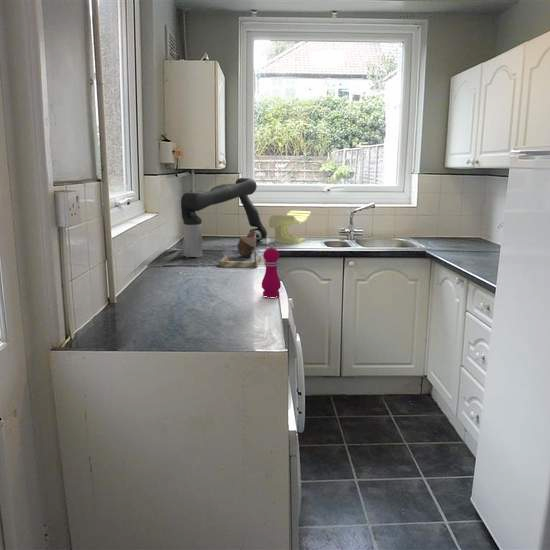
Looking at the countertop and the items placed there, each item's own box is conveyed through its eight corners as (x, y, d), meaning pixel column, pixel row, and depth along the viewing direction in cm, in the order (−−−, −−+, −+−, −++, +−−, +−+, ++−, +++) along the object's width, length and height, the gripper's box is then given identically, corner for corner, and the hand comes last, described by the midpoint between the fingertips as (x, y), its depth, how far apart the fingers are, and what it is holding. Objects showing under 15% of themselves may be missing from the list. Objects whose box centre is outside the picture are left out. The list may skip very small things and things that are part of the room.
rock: (259, 249, 265) (243, 239, 262) (247, 264, 268) (232, 255, 265) (257, 240, 276) (242, 230, 273) (246, 255, 280) (231, 245, 276)
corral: (219, 266, 247) (218, 232, 243) (226, 260, 263) (225, 227, 259) (256, 267, 245) (256, 233, 242) (261, 260, 261) (261, 228, 258)
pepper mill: (269, 292, 200) (270, 242, 196) (284, 296, 196) (285, 244, 191) (257, 296, 195) (257, 244, 190) (272, 299, 190) (272, 246, 186)
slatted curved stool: (287, 237, 338) (287, 210, 334) (310, 239, 332) (311, 211, 328) (269, 244, 311) (269, 214, 307) (293, 246, 305) (293, 216, 301)
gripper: (242, 231, 297) (237, 235, 280) (265, 231, 295) (261, 236, 279) (242, 243, 298) (237, 249, 282) (265, 244, 297) (261, 249, 280)
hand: (249, 242), depth 280 cm, fingers closed
